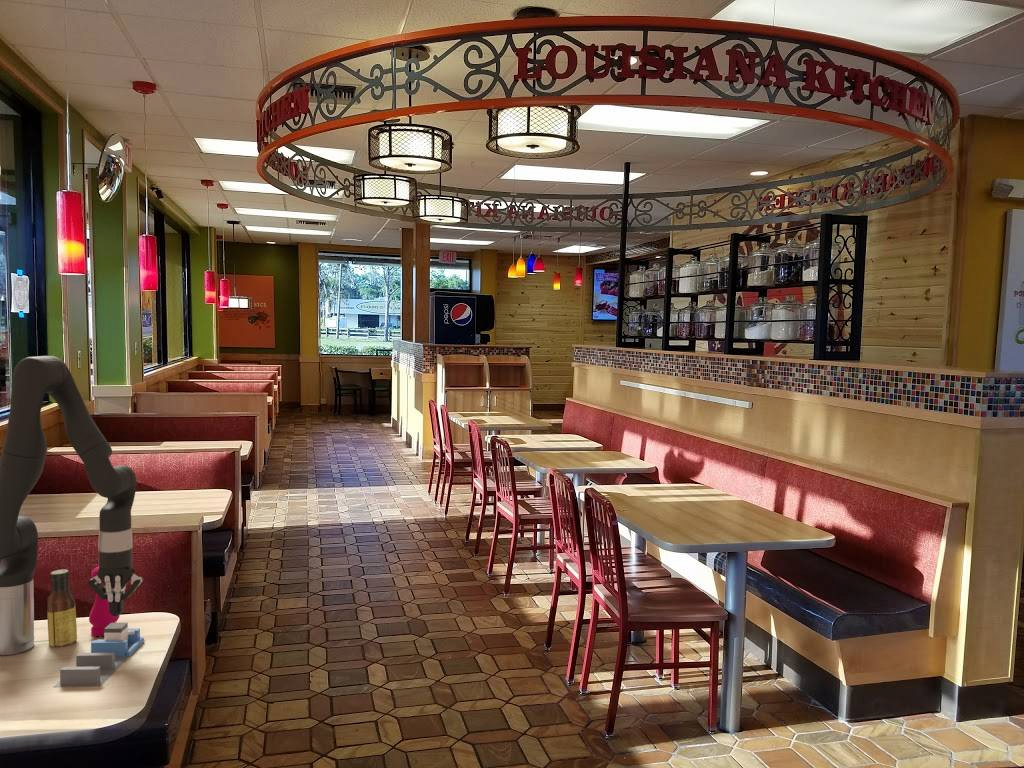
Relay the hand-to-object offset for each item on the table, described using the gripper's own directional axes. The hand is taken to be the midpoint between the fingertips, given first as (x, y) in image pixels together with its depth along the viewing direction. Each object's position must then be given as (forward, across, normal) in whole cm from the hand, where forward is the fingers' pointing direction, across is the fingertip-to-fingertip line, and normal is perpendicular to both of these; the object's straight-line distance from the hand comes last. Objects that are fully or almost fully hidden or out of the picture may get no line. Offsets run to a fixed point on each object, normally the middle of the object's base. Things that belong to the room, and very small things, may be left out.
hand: (116, 615), depth 190 cm
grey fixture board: (+10, 0, +8) cm, 13 cm away
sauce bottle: (+10, +15, -4) cm, 19 cm away
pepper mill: (+10, +9, -14) cm, 20 cm away
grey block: (+9, 0, 0) cm, 9 cm away
